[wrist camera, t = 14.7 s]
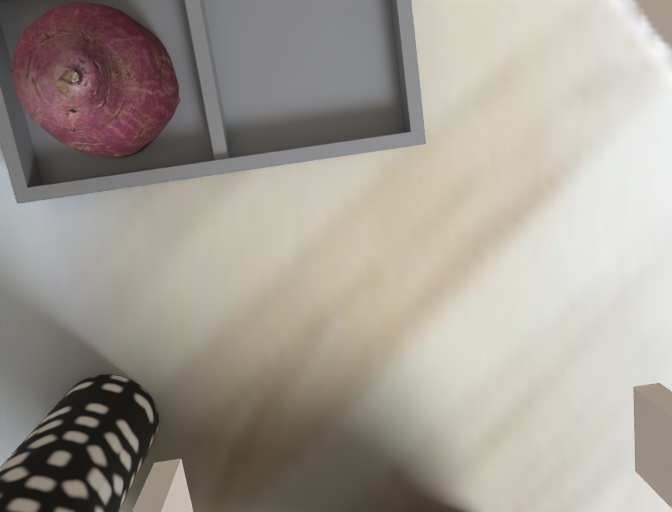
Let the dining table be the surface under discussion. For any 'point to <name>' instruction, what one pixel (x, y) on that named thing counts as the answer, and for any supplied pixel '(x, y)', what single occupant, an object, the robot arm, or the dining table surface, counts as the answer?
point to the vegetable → (95, 79)
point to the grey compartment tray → (237, 91)
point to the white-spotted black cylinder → (82, 450)
